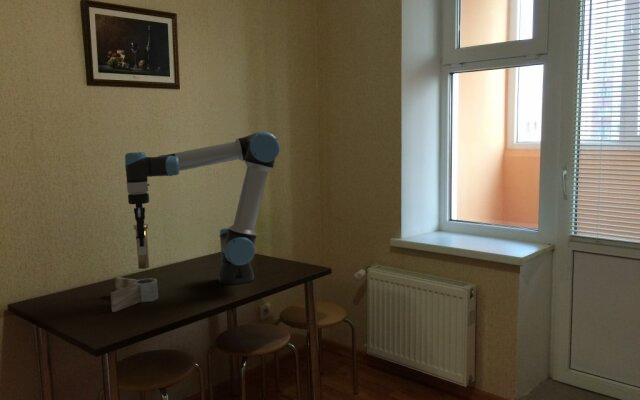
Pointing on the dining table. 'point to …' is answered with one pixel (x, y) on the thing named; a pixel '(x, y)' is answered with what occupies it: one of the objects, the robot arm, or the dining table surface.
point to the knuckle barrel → (147, 289)
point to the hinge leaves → (124, 294)
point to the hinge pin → (144, 259)
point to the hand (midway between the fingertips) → (142, 253)
